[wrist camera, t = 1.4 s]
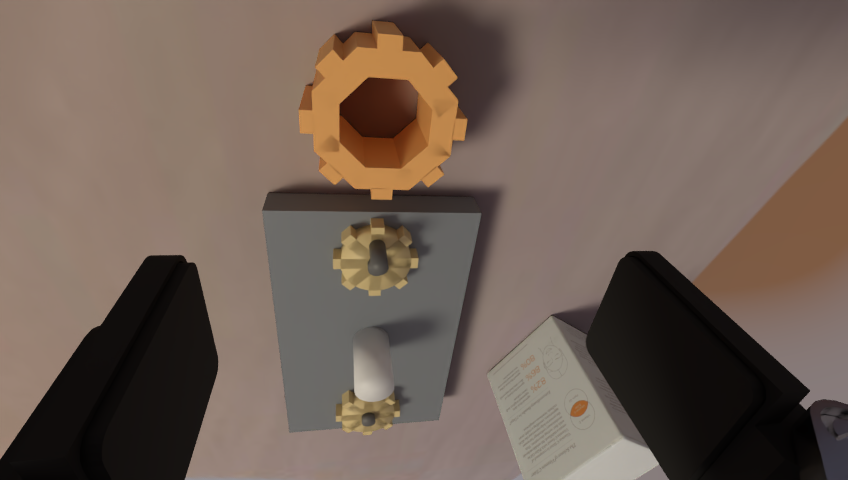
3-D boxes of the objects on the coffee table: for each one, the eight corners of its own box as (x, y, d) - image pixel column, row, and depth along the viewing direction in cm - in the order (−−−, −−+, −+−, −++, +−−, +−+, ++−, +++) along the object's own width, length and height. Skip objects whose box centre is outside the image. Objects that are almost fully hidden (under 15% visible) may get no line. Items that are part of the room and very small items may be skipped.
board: (267, 192, 23) (248, 255, 19) (472, 196, 26) (503, 253, 21) (292, 409, 34) (283, 485, 29) (434, 399, 37) (448, 467, 32)
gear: (302, 13, 19) (293, 25, 16) (458, 28, 20) (480, 42, 17) (309, 163, 23) (303, 198, 20) (439, 167, 24) (454, 200, 21)
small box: (527, 390, 38) (581, 516, 30) (484, 372, 36) (529, 504, 27) (594, 336, 35) (674, 458, 27) (552, 312, 33) (625, 438, 24)
